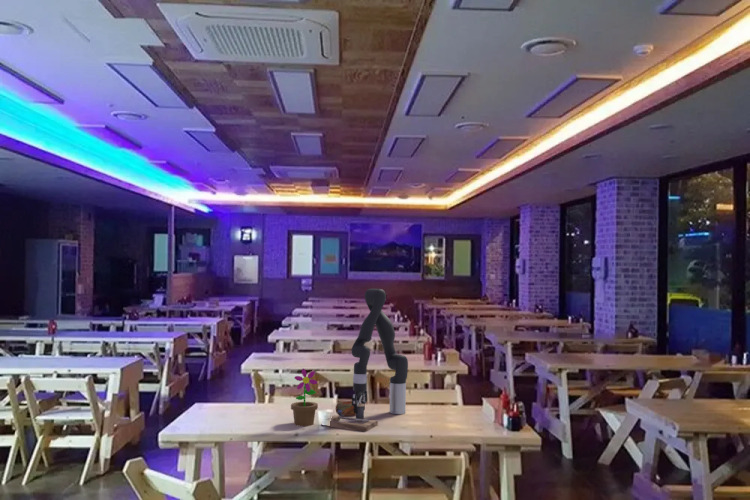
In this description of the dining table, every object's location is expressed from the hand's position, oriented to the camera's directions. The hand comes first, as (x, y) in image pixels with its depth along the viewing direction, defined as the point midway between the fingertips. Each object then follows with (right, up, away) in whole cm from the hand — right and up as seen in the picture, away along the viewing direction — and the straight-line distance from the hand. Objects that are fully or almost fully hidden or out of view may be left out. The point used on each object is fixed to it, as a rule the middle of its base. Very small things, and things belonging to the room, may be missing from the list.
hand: (359, 411), depth 357 cm
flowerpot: (-29, -5, -8) cm, 31 cm away
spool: (0, -5, 0) cm, 5 cm away
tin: (-6, -5, +12) cm, 15 cm away
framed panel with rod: (-5, -5, -11) cm, 13 cm away
